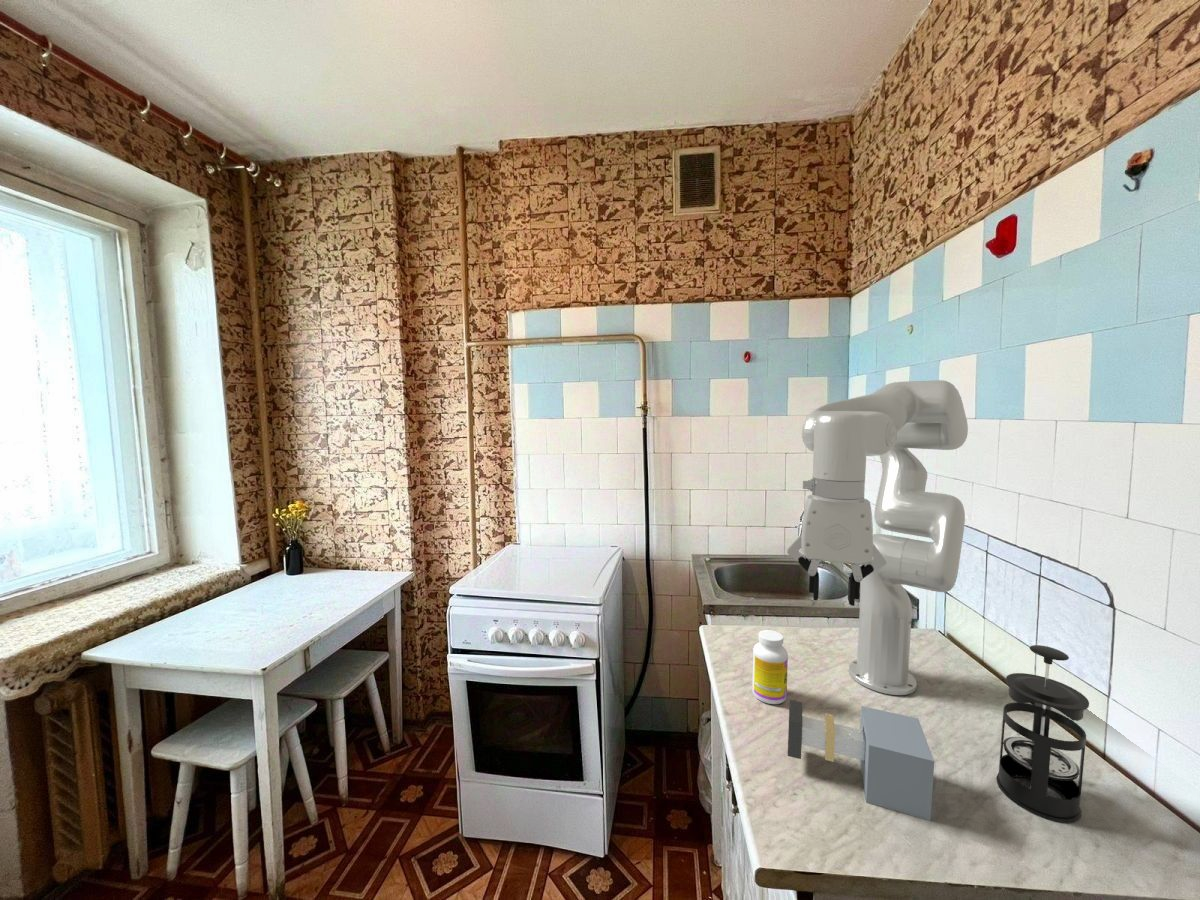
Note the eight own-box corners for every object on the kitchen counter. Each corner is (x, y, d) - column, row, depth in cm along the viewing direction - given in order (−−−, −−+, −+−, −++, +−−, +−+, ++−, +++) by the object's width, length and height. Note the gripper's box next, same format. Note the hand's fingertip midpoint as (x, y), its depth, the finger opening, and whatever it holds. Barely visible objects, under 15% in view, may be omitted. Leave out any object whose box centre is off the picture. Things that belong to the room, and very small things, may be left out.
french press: (1083, 839, 64) (1098, 677, 62) (993, 799, 70) (1004, 652, 68) (1078, 788, 72) (1091, 645, 70) (998, 757, 79) (1008, 625, 77)
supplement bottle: (789, 707, 92) (791, 644, 91) (754, 703, 93) (755, 641, 92) (783, 688, 98) (785, 629, 97) (750, 684, 100) (751, 626, 99)
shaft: (788, 732, 81) (789, 699, 81) (885, 756, 75) (887, 721, 75) (787, 755, 76) (788, 720, 75) (892, 784, 70) (894, 746, 69)
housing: (858, 756, 79) (861, 705, 78) (915, 771, 76) (918, 718, 75) (866, 802, 70) (869, 745, 69) (930, 820, 67) (934, 761, 66)
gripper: (780, 489, 75) (776, 600, 77) (904, 497, 68) (897, 618, 70) (782, 483, 82) (778, 584, 83) (895, 489, 75) (889, 599, 77)
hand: (833, 598), depth 77 cm, fingers open, 4 cm apart
